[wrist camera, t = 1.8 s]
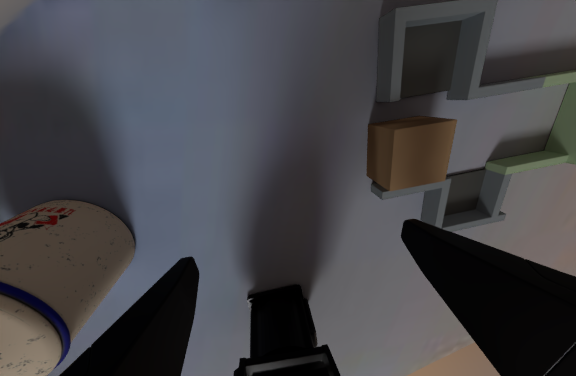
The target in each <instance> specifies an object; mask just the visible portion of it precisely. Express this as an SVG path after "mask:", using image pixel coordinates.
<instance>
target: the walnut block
mask: <svg viewBox="0 0 576 376" xmlns="http://www.w3.org/2000/svg"><path fill="white" fill-rule="evenodd" d="M456 123H457V120H455V119H445V118H435V117H426V116H416V117H409V118H403V119H397V120H391V121H385V122H378V123H372V124H368V144H367V176H368V177H369V178H371V179H372V180H374V181H375V182H376V183H378V184H379V185H381V186H382V187H384V188H385V189H387V190H388V191H395V190H400V189H405V188H411V187H416V186H421V185H426V184H432V183H437V182H442V181H445V178H446V173H447V168H448V163H449V158H450V153H451V148H452V143H453V138H454V133H455V128H456Z"/></svg>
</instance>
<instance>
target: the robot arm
mask: <svg viewBox="0 0 576 376" xmlns="http://www.w3.org/2000/svg"><path fill="white" fill-rule="evenodd" d="M401 238H402V241H403V242H404V244H405V246H406V247H407V249H408V250H409V252H410V254H411V255H412V257H413V258H414V260H415V262H416V263H417V265H418V266H419V268H420V269H421V271H422V272H423V274H424V275H425V277H426V278H427V279H428V281H429V282H430V283H431V284H432V286H433V287H434V288H435V290H436V291H437V292H438V294H439V295H440V296H441V298H442V299H443V300H444V302H445V303H446V304H447V306H448V307H449V308H450V310H451V311H452V312H453V313H454V315H455V316H456V317H457V319H458V320H459V321H460V323H461V324H462V325H463V327H464V328H465V329H466V331H467V332H468V333H469V335H470V336H471V337H472V339H473V340H474V341H475V343H476V344H477V345H478V346H479V348H480V349H481V350H482V351H483V353H484V354H485V356H486V357H487V358H488V360H489V361H490V362H491V364H492V365H493V366H494V368H495V369H496V370H497V372H498V373H499V374H500V375H501V376H576V277H575V276H572V275H569V274H566V273H563V272H560V271H557V270H555V269H552V268H549V267H546V266H543V265H540V264H538V263H535V262H532V261H530V260H527V259H525V260H524V259H523V258H521V257H518V256H516V255H513V254H510V253H507V252H505V251H502V250H499V249H496V248H494V247H491V246H488V245H485V244H483V243H480V242H477V241H474V240H472V239H469V238H466V237H463V236H461V235H458V234H455V233H452V232H450V231H447V230H444V229H441V228H439V227H436V226H433V225H430V224H428V223H425V222H422V221H420V220H417V219H409V220H405V221H404V223H403V228H402V233H401ZM198 283H199V270H198V268H197V265H196V263H195V260H194V258H193V257H185V258H181V259H180V260H179V261H178V262H177V263H176V264H175V265H174V266H173V267H172V268H171V269H170V270H169V271H168V272H166V273H165V274H164V275H163V276H162V277H161V278H160V279H159V280H158V281H157V282H156V283H155V284H154V285H153V286H152V287H151V288H150V289H149V290H148V291H147V292H146V293H145V294H144V295H143V296H142V297H141V298H140V299H138V300H137V301H136V302H135V303H134V304H133V305H132V306H131V307H130V308H129V309H128V310H127V311H126V312H125V313H124V314H123V315H122V316H121V317H120V318H119V319H118V320H117V321H116V322H115V323H114V324H113V325H112V326H111V327H109V328H108V329H107V330H106V331H105V332H104V333H103V334H102V335H101V336H100V337H99V338H98V339H97V340H96V341H95V342H94V343H93V344H92V345H91V347H89V348H88V349H87V350H86V351H84V352H83V353H82V354H81V355H80V356H79V357H78V358H77V359H76V360H75V361H74V362H73V363H72V364H71V365H70V366H69V367H68V368H67V369H66V370H65V371H63V372H62V373H61V374H60V375H59V376H181V372H182V367H183V363H184V359H185V354H186V350H187V346H188V342H189V337H190V333H191V329H192V324H193V320H194V315H195V308H196V299H197V291H198ZM247 303H248V306H249V309H250V312H251V331H250V358H247V359H246V358H240V362H239V368H237V369H236V370H235V371H234V376H340V373H339V371H338V368H337V366H336V364H335V361H334V359H333V357H332V354H331V352H330V349H329V347H328V345H327V344H326V345H322V346H321V347H316V346H317V337H316V330H315V326H314V323H313V319H312V315H311V311H310V308H309V304H308V300H307V299H306V298H303V295H302V289H301V286H300V285H294V286H289V287H285V288H281V289H276V290H272V291H268V292H263V293H259V294H255V295H250V296H248V298H247ZM314 347H315V348H314Z"/></svg>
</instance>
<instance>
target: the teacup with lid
mask: <svg viewBox="0 0 576 376" xmlns="http://www.w3.org/2000/svg"><path fill="white" fill-rule="evenodd" d="M134 253H135V243H134V239H133V236H132V234H131V232H130V230H129V229H128V228H127V226H126V225H125V224H124V223H123V222H122V221H121V220H120V219H119V218H118V217H116V216H115V215H114V214H112V213H111V212H109V211H107V210H105V209H103V208H101V207H99V206H96V205H93V204H90V203H86V202H82V201H75V200H56V201H50V202H46V203H42V204H40V205H37V206H35V207H33V208H31V209H29V210H27V211H25V212H23V213H21V214H19V215H17V216H15V217H13V218H11V219H9V220H7V221H5V222H3V223H1V224H0V376H46V375H48V374H49V373H50V372H51V371H52V370H53V369H54V368H56V367H57V366H58V365H59V364H60V363H61V362H62V361H63V359H64V358H65V357H66V355H67V353H68V351H69V348H70V344H71V342H72V341H73V339H74V338H75V337H76V335H77V334H78V333H79V331H80V330H81V328H82V327H83V326H84V324H85V323H86V322H87V320H88V319H89V318H90V316H91V315H92V314H93V312H94V311H95V310H96V308H97V307H98V306H99V304H100V303H101V302H102V300H103V299H104V298H105V296H106V295H107V294H108V292H109V291H110V290H111V288H112V287H113V286H114V284H115V283H116V282H117V280H118V279H119V278H120V276H121V275H122V274H123V272H124V271H125V270H126V268H127V267H128V266H129V264H130V263H131V261H132V259H133V257H134Z"/></svg>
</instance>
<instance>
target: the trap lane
mask: <svg viewBox="0 0 576 376" xmlns="http://www.w3.org/2000/svg"><path fill="white" fill-rule="evenodd" d="M497 1H498V0H458V1H449V2H441V3H433V4H425V5H417V6H409V7H400V8H395V9H394V10H392V11H390V12H389V13H387V14H386V15H384V16H383V17H381V18H379V39H378V67H377V95H376V102H394V101H400V98H404V97H410V96H417V95H423V94H429V93H435V92H441V91H448V95H447V100H470V99H476V98H482V97H488V96H494V95H500V94H506V93H512V92H518V91H524V90H530V89H536V88H542V87H548V86H554V85H560V84H566V83H569V86H568V89H567V91H566V94H565V97H564V99H563V102H562V104H561V107H560V110H559V112H558V115H557V118H556V120H555V123H554V126H553V128H552V131H551V133H550V136H549V139H548V141H547V144H546V147H545V149H544V151H539V152H534V153H529V154H524V155H519V156H514V157H509V158H503V159H498V160H493V161H488V162H486V166H485V169H481V170H476V171H471V172H466V173H461V174H456V175H451V176H446V178H445V181H442V182H437V183H432V184H426V185H421V186H416V187H411V188H405V189H400V190H395V191H388V190H387V189H385V188H384V187H382V186H381V185H379V184H378V183H376V184H371V192H373V193H374V194H375V195H377V196H378V197H379V198H380V199H382V200H384V199H389V198H394V197H399V196H404V195H409V194H414V193H419V192H424V191H425V195H424V202H423V208H422V215H421V220H422V221H423V222H425V223H428V224H430V225H433V226H436V227H439V228H441V229H444V230H447V231H450V232H453V231H458V230H462V229H467V228H471V227H476V226H480V225H485V224H489V223H493V222H498V221H502V220H504V219H505V216H506V214H505V213H503V212H501V211H500V209H501V206H502V203H503V199H504V196H505V193H506V190H507V187H508V184H509V181H510V178H511V175H512V173H517V172H522V171H527V170H532V169H537V168H542V167H547V166H552V165H557V164H562V163H570V164H575V165H576V70H570V71H564V72H558V73H552V74H546V75H539V76H533V77H527V78H521V79H515V80H508V81H502V82H496V83H490V84H483V85H479V84H480V79H481V75H482V70H483V65H484V61H485V56H486V52H487V47H488V43H489V38H490V33H491V29H492V24H493V20H494V15H495V11H496V6H497Z"/></svg>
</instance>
